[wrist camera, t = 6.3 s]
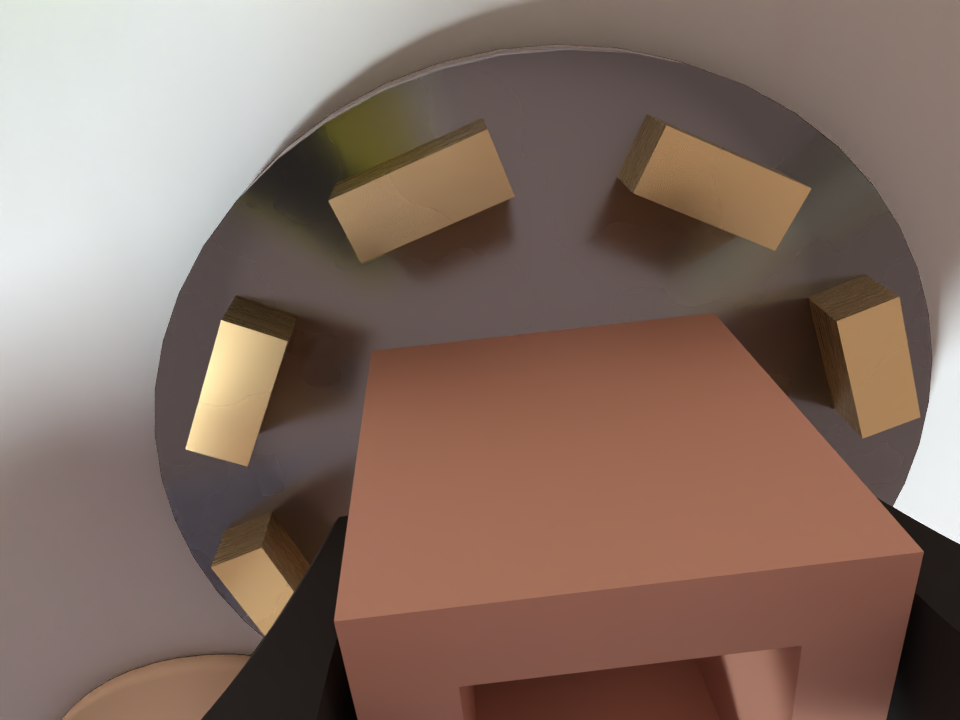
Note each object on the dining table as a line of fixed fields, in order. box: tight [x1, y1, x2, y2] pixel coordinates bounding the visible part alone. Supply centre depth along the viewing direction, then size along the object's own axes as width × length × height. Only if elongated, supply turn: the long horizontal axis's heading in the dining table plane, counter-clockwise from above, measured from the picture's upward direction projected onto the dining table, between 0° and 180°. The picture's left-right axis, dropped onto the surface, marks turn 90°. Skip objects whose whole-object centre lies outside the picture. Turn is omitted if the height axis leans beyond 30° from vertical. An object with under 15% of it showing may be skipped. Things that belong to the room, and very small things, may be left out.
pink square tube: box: [334, 313, 924, 720], centre depth 11 cm, size 6×6×6 cm
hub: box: [155, 44, 932, 637], centre depth 13 cm, size 14×14×4 cm
